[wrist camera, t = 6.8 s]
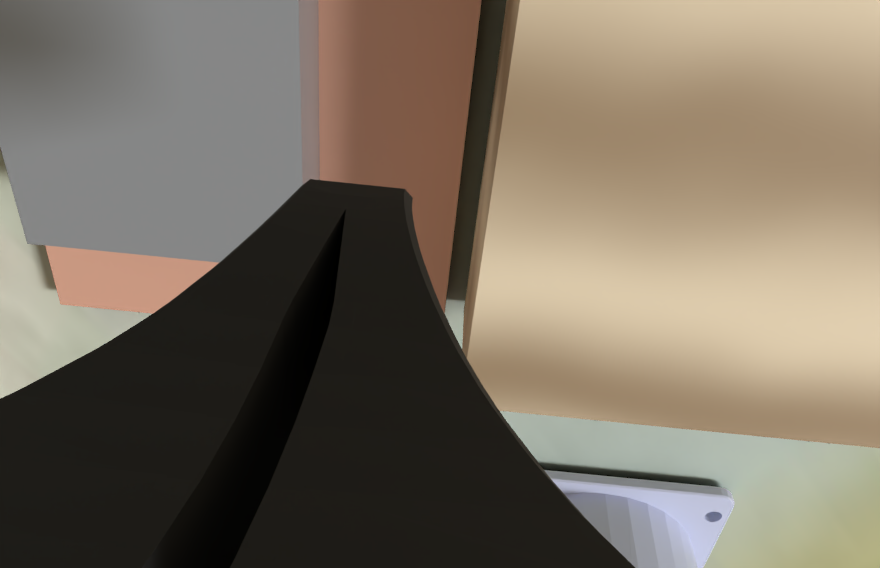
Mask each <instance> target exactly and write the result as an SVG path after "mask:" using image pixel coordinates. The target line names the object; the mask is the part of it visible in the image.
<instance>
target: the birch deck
mask: <svg viewBox="0 0 880 568" xmlns="http://www.w3.org/2000/svg"><path fill="white" fill-rule="evenodd" d="M462 351H463V352H464V354H465V356H466V358H467V360H468V362H469V363H470V365H471V367H472V368H473V370H474V372H475V373H476V375H477V377H478V378H479V380H480V382H481V383H482V385H483V387H484V388H485V390H486V391H487V393H488V394H489V396H490V397H491V399H492V401H493V402H494V404H495V405H496V407H497V408H498V410H499V411H509V412H519V413H529V414H539V415H549V416H560V417H570V418H580V419H590V420H600V421H610V422H620V423H631V424H641V425H651V426H661V427H671V428H681V429H691V430H702V431H712V432H722V433H732V434H742V435H752V436H762V437H773V438H783V439H793V440H803V441H813V442H823V443H833V444H844V445H854V446H864V447H874V448H880V0H506V8H505V15H504V22H503V30H502V37H501V44H500V51H499V59H498V66H497V73H496V80H495V88H494V95H493V102H492V109H491V117H490V124H489V131H488V138H487V146H486V153H485V160H484V168H483V175H482V182H481V189H480V197H479V204H478V211H477V218H476V226H475V233H474V240H473V247H472V255H471V262H470V269H469V276H468V284H467V291H466V298H465V306H464V324H463V348H462Z"/></svg>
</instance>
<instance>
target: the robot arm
mask: <svg viewBox="0 0 880 568" xmlns="http://www.w3.org/2000/svg"><path fill="white" fill-rule="evenodd" d="M412 201H413V198H412V196H411V195H410V194H409V193H408V192H407V191H406V189H402V188H392V187H382V186H373V185H363V184H353V183H343V182H334V181H324V180H314V179H310V180H308V181H307V182H306V183H305V184H303V185H302V186H301V187H300V188H299V189H298V190H297V191H296V192H295V193H294V194H293V195H292V196H291V197H290V198H289V199H288V200H287V201H286V202H285V203H284V204H283V205H282V206H281V207H280V208H279V209H278V210H277V211H276V212H274V213H273V214H272V215H271V216H270V217H269V218H268V219H267V220H266V221H265V222H264V223H263V224H262V225H261V226H260V227H259V228H258V229H257V230H256V231H254V232H253V233H252V234H251V235H250V236H249V237H248V238H247V239H246V240H244V241H243V242H242V243H241V244H240V245H239V246H238V247H237V248H235V249H234V250H233V251H232V252H231V253H230V254H229V255H228V256H226V257H225V258H224V259H223V260H222V261H221V262H219V263H218V264H217V265H216V266H215V267H213V268H212V269H211V270H210V271H208V272H207V273H206V274H205V275H203V276H202V277H201V278H199V279H198V280H197V281H196V282H194V283H193V284H192V285H191V286H189V287H188V288H187V289H185V290H184V291H183V292H182V293H180V294H179V295H178V296H177V297H175V298H174V299H173V300H171V301H170V302H169V303H167V304H166V305H164V306H163V307H162V308H160V309H159V310H157V311H156V312H155V313H153V314H152V315H150V316H149V317H147V318H146V319H144V320H143V321H141V322H139V323H138V324H136V325H135V326H133V327H132V328H130V329H128V330H127V331H125V332H124V333H122V334H120V335H119V336H117V337H116V338H114V339H112V340H111V341H109V342H107V343H106V344H104V345H102V346H101V347H99V348H97V349H96V350H94V351H92V352H90V353H88V354H86V355H84V356H82V357H81V358H79V359H77V360H75V361H73V362H71V363H69V364H67V365H65V366H64V367H62V368H60V369H58V370H56V371H54V372H52V373H50V374H49V375H47V376H45V377H43V378H41V379H39V380H37V381H35V382H34V383H32V384H30V385H28V386H26V387H24V388H22V389H20V390H18V391H16V392H14V393H12V394H10V395H8V396H5V397H3V398H1V399H0V568H703V567H704V565H705V563H706V561H707V559H708V557H709V555H710V553H711V551H712V549H713V547H714V545H715V543H716V541H717V539H718V537H719V535H720V534H721V532H722V530H723V528H724V526H725V524H726V522H727V520H728V518H729V516H730V514H731V512H732V510H733V508H734V500H733V496H732V494H731V492H730V491H729V490H727V489H726V488H722V487H714V486H704V485H694V484H684V483H673V482H663V481H653V480H643V479H632V478H622V477H612V476H602V475H591V474H581V473H571V472H561V471H550V470H544V469H543V468H542V467H541V466H540V464H539V463H538V462H537V460H536V459H535V458H534V456H533V455H532V454H531V453H530V451H529V450H528V449H527V447H526V446H525V445H524V443H523V442H522V441H521V440H520V438H519V437H518V436H517V434H516V433H515V432H514V431H513V429H512V428H511V427H510V425H509V424H508V423H507V421H506V420H505V419H504V417H503V416H502V414H501V413H500V411H499V410H498V408H497V407H496V405H495V404H494V402H493V401H492V399H491V397H490V396H489V394H488V393H487V391H486V390H485V388H484V387H483V385H482V383H481V382H480V380H479V378H478V377H477V375H476V373H475V372H474V370H473V368H472V367H471V365H470V363H469V362H468V360H467V358H466V356H465V354H464V352H463V351H462V349H461V347H460V345H459V343H458V341H457V339H456V337H455V335H454V333H453V331H452V329H451V327H450V325H449V323H448V320H447V318H446V316H445V314H444V312H443V310H442V308H441V305H440V303H439V300H438V298H437V296H436V293H435V291H434V288H433V285H432V283H431V280H430V277H429V274H428V271H427V269H426V266H425V263H424V260H423V257H422V254H421V251H420V247H419V243H418V239H417V235H416V231H415V227H414V221H413V214H412Z"/></svg>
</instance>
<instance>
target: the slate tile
mask: <svg viewBox="0 0 880 568" xmlns="http://www.w3.org/2000/svg"><path fill="white" fill-rule="evenodd" d="M0 148H1V152H2V155H3V159H4V162H5V166H6V169H7V173H8V177H9V180H10V184H11V187H12V191H13V194H14V198H15V201H16V205H17V209H18V212H19V216H20V219H21V223H22V226H23V230H24V234H25V237H26V241H27V244H36V245H46V246H57V247H67V248H77V249H87V250H97V251H107V252H117V253H127V254H137V255H148V256H158V257H168V258H178V259H188V260H198V261H208V262H218V263H219V262H221V261H222V260H223V259H224V258H225V257H226V256H228V255H229V254H230V253H231V252H232V251H233V250H234V249H235V248H237V247H238V246H239V245H240V244H241V243H242V242H243V241H244V240H246V239H247V238H248V237H249V236H250V235H251V234H252V233H253V232H254V231H256V230H257V229H258V228H259V227H260V226H261V225H262V224H263V223H264V222H265V221H266V220H267V219H268V218H269V217H270V216H271V215H272V214H273V213H274V212H276V211H277V210H278V209H279V208H280V207H281V206H282V205H283V204H284V203H285V202H286V201H287V200H288V199H289V198H290V197H291V196H292V195H293V194H294V193H295V192H296V191H297V190H298V189H299V188H300V187H301V186H302V185H303V184H305V183H306V182H307V181H308V180H310V179H314V180H320V136H319V1H318V0H0Z"/></svg>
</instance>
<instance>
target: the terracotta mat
mask: <svg viewBox="0 0 880 568" xmlns="http://www.w3.org/2000/svg"><path fill="white" fill-rule="evenodd" d="M318 1H319V136H320V180H324V181H334V182H343V183H353V184H363V185H373V186H382V187H392V188H402V189H406V191H407V192H408V193H409V194H410V195H411V196H412V198H413V201H412V214H413V221H414V227H415V231H416V235H417V239H418V243H419V247H420V251H421V254H422V257H423V260H424V263H425V266H426V269H427V271H428V274H429V277H430V280H431V283H432V285H433V288H434V291H435V293H436V296H437V298H438V300H439V303H440V305H441V308H442V310H443V312H444V313H445V304H446V296H447V287H448V279H449V270H450V262H451V254H452V245H453V237H454V228H455V220H456V211H457V203H458V195H459V186H460V178H461V169H462V161H463V152H464V144H465V136H466V127H467V119H468V110H469V102H470V94H471V85H472V77H473V68H474V60H475V51H476V43H477V35H478V26H479V18H480V9H481V1H482V0H318ZM45 247H46V251H47V254H48V258H49V262H50V266H51V270H52V273H53V277H54V281H55V285H56V289H57V293H58V296H59V300H60V304H63V305H73V306H83V307H93V308H103V309H113V310H123V311H133V312H143V313H155V312H156V311H157V310H159V309H160V308H162V307H163V306H164V305H166V304H167V303H169V302H170V301H171V300H173V299H174V298H175V297H177V296H178V295H179V294H180V293H182V292H183V291H184V290H185V289H187V288H188V287H189V286H191V285H192V284H193V283H194V282H196V281H197V280H198V279H199V278H201V277H202V276H203V275H205V274H206V273H207V272H208V271H210V270H211V269H212V268H213V267H215V266H216V265H217V264H218V262H208V261H198V260H188V259H178V258H168V257H158V256H148V255H137V254H127V253H117V252H107V251H97V250H87V249H77V248H67V247H57V246H46V245H45Z"/></svg>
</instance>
